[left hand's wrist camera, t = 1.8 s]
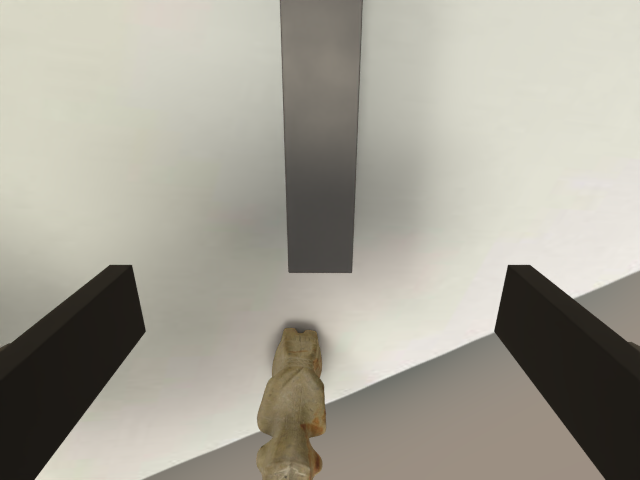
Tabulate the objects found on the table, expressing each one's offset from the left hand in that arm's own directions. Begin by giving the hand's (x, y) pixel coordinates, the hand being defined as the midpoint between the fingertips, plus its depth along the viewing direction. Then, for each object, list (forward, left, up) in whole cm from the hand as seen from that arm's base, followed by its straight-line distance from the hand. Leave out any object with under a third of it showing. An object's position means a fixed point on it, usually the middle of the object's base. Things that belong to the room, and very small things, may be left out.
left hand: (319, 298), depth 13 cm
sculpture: (-11, -15, -21) cm, 28 cm away
